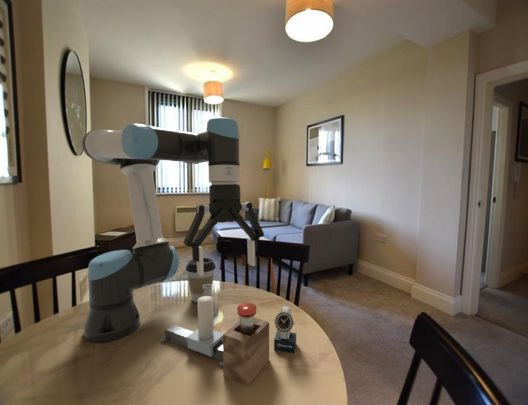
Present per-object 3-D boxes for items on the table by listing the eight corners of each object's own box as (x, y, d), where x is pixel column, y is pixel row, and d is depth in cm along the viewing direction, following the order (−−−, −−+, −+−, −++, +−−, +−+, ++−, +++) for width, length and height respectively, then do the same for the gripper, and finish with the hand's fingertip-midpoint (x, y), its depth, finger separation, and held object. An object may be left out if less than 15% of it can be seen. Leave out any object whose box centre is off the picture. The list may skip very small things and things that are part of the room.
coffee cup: (222, 296, 104) (221, 259, 103) (201, 308, 95) (200, 267, 94) (201, 290, 110) (200, 255, 109) (179, 300, 101) (179, 262, 100)
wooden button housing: (223, 375, 62) (222, 334, 61) (245, 351, 70) (245, 315, 70) (248, 386, 58) (248, 343, 58) (269, 359, 67) (269, 322, 66)
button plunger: (233, 334, 63) (233, 309, 62) (244, 325, 67) (244, 301, 66) (250, 339, 61) (250, 313, 60) (259, 329, 65) (259, 305, 64)
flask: (213, 320, 86) (213, 290, 86) (193, 318, 88) (192, 289, 87) (221, 309, 94) (221, 282, 93) (202, 307, 95) (202, 281, 94)
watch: (272, 354, 69) (272, 314, 68) (278, 337, 77) (278, 301, 76) (293, 358, 68) (294, 317, 67) (297, 340, 76) (297, 303, 75)
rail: (161, 342, 75) (160, 331, 74) (177, 331, 80) (176, 322, 80) (223, 367, 64) (223, 356, 64) (237, 353, 69) (237, 342, 69)
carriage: (186, 348, 70) (185, 300, 69) (202, 336, 75) (201, 292, 74) (210, 357, 66) (209, 307, 65) (224, 344, 71) (224, 298, 70)
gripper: (175, 184, 54) (179, 284, 56) (275, 182, 67) (277, 264, 68) (168, 184, 61) (172, 274, 62) (261, 183, 73) (262, 258, 75)
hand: (227, 269), depth 65 cm, fingers open, 13 cm apart
